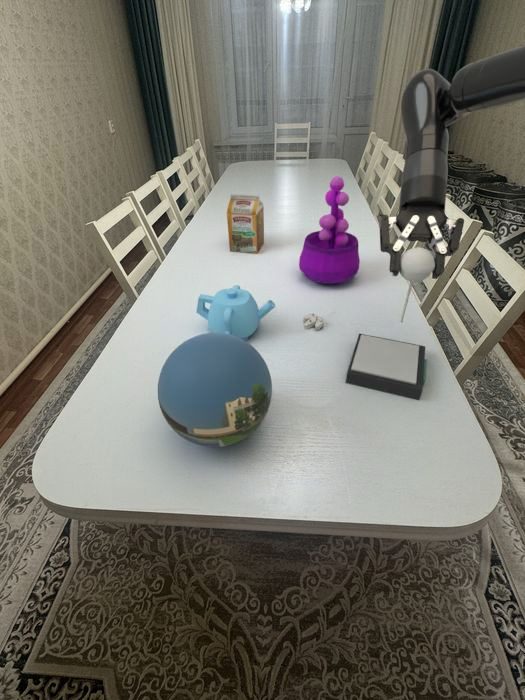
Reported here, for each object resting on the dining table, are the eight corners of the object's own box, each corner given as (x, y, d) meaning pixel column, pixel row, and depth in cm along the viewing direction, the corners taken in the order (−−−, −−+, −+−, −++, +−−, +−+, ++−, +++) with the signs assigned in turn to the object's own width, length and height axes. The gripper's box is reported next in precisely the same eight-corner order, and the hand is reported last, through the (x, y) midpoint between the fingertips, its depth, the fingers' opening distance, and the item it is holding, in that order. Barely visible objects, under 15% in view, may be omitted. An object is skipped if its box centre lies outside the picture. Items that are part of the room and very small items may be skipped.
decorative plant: (290, 269, 121) (293, 172, 102) (339, 260, 125) (350, 166, 106) (313, 295, 107) (321, 188, 88) (368, 285, 111) (387, 181, 92)
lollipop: (378, 320, 71) (394, 248, 61) (396, 309, 74) (413, 239, 64) (406, 334, 67) (427, 259, 58) (423, 322, 70) (446, 249, 61)
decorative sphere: (176, 393, 76) (156, 313, 64) (268, 387, 77) (266, 307, 64) (162, 475, 61) (133, 392, 48) (277, 466, 61) (277, 382, 49)
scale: (424, 356, 84) (428, 344, 81) (422, 401, 73) (426, 388, 70) (357, 343, 88) (359, 331, 86) (345, 382, 77) (347, 370, 75)
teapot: (191, 348, 88) (184, 307, 81) (206, 311, 101) (201, 273, 94) (272, 352, 86) (272, 310, 79) (277, 314, 99) (277, 275, 92)
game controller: (298, 326, 94) (298, 318, 93) (319, 307, 102) (319, 299, 100) (317, 333, 92) (317, 324, 90) (337, 313, 99) (338, 305, 97)
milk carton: (264, 242, 139) (263, 191, 128) (257, 253, 131) (255, 199, 120) (238, 240, 142) (234, 190, 130) (229, 251, 134) (225, 198, 122)
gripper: (385, 171, 61) (376, 266, 60) (475, 173, 59) (468, 272, 57) (378, 195, 69) (370, 279, 67) (458, 197, 66) (451, 285, 65)
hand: (415, 275), depth 62 cm, fingers closed on lollipop, 6 cm apart
